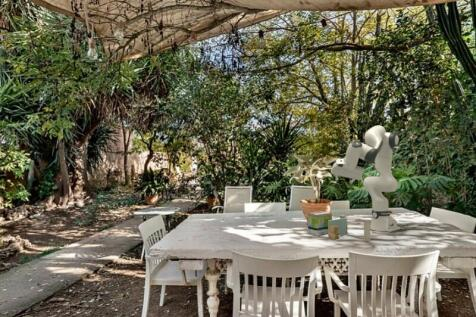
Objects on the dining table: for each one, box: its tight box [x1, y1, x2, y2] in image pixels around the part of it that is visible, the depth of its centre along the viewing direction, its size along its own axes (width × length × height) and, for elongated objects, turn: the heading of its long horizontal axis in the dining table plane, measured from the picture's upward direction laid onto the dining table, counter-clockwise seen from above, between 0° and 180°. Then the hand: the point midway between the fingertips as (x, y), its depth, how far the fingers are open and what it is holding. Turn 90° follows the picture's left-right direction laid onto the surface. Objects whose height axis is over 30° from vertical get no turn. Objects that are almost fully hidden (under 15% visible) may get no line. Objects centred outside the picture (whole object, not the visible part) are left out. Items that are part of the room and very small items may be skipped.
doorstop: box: [327, 225, 340, 240], centre depth 247 cm, size 4×5×8 cm
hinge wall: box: [339, 214, 347, 219], centre depth 260 cm, size 3×3×13 cm
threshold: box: [346, 234, 364, 240], centre depth 249 cm, size 2×14×1 cm, turn 27°
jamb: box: [363, 219, 371, 242], centre depth 240 cm, size 3×3×13 cm
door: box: [327, 217, 348, 238], centre depth 254 cm, size 17×3×11 cm, turn 118°
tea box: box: [307, 210, 333, 236], centre depth 263 cm, size 15×10×15 cm, turn 126°
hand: (343, 181), depth 248 cm, fingers open, 8 cm apart
